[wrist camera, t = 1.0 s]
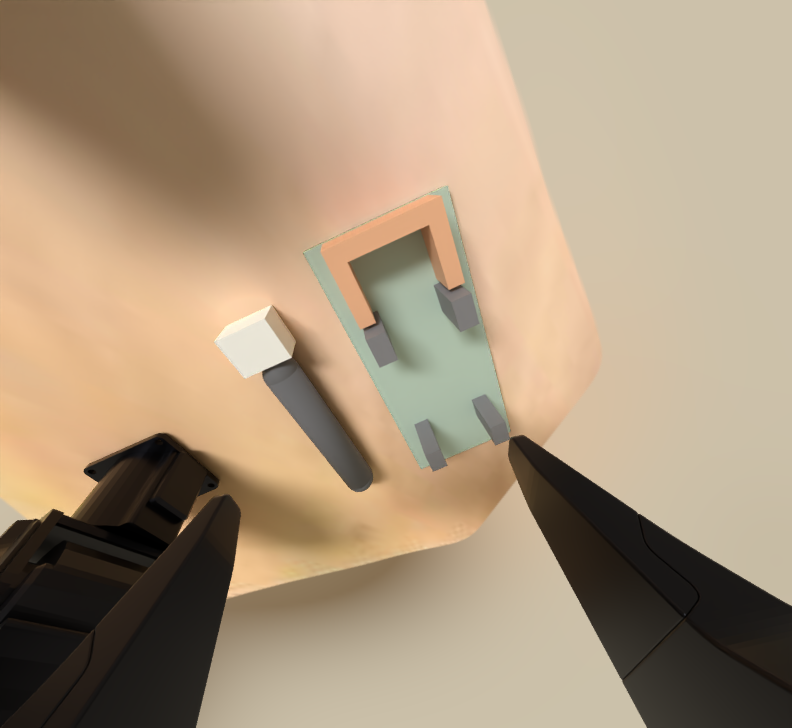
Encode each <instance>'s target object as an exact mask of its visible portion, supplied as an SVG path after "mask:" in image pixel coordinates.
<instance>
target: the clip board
mask: <svg viewBox="0 0 792 728" xmlns="http://www.w3.org/2000/svg"><path fill="white" fill-rule="evenodd" d="M303 254H304V256H305V257H306V259H307V261H308V263H309V265H310V267H311V268H312V270H313V272H314V274H315V276H316V278H317V279H318V281H319V283H320V285H321V287H322V289H323V290H324V292H325V294H326V296H327V298H328V300H329V301H330V303H331V305H332V307H333V309H334V311H335V312H336V314H337V316H338V318H339V320H340V322H341V323H342V325H343V327H344V329H345V331H346V333H347V334H348V336H349V338H350V340H351V342H352V344H353V345H354V347H355V349H356V351H357V353H358V354H359V356H360V358H361V360H362V362H363V364H364V365H365V367H366V369H367V371H368V373H369V375H370V376H371V378H372V380H373V382H374V384H375V386H376V387H377V389H378V391H379V393H380V395H381V397H382V398H383V400H384V402H385V404H386V406H387V408H388V409H389V411H390V413H391V415H392V417H393V419H394V420H395V422H396V424H397V426H398V428H399V430H400V431H401V433H402V435H403V437H404V439H405V441H406V442H407V444H408V446H409V448H410V450H411V452H412V453H413V455H414V457H415V459H416V461H417V463H418V464H419V466H420V468H421V469H423V468H425V467H428V466H430V467H431V469H432V470H433V472H434V471H436V470H438V469H441V468H443V467H445V466H447V463H446V461H445V459H447V458H449V457H451V456H454V455H456V454H458V453H461V452H463V451H465V450H468V449H470V448H473V447H475V446H477V445H480V444H482V443H484V442H487V441H489V440H491V439H492V441H493V442H494V444H495V445H498V444H500V443H502V442H505V441H507V440H509V439H510V437H509V433H508V432H510V431H511V430H510V427H509V423H508V419H507V415H506V411H505V407H504V403H503V399H502V395H501V392H500V388H499V384H498V380H497V376H496V372H495V368H494V364H493V360H492V356H491V353H490V349H489V345H488V341H487V337H486V333H485V329H484V325H483V321H482V317H481V314H480V310H479V306H478V302H477V298H476V294H475V290H474V286H473V282H472V279H471V275H470V271H469V267H468V263H467V259H466V255H465V251H464V247H463V243H462V240H461V236H460V232H459V228H458V224H457V220H456V216H455V212H454V208H453V204H452V201H451V197H450V193H449V189H448V186H443V187H441V188H439V189H437V190H435V191H433V192H430V193H428V194H426V195H424V196H422V197H420V198H418V199H415V200H413V201H411V202H409V203H407V204H405V205H403V206H400V207H398V208H396V209H394V210H392V211H390V212H388V213H385V214H383V215H381V216H379V217H377V218H375V219H373V220H370V221H368V222H366V223H364V224H362V225H360V226H358V227H355V228H353V229H351V230H349V231H347V232H345V233H343V234H340V235H338V236H336V237H334V238H332V239H330V240H328V241H325V242H323V243H321V244H319V245H317V246H315V247H313V248H310V249H308V250H306V251H304V252H303Z"/></svg>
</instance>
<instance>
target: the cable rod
mask: <svg viewBox="0 0 792 728" xmlns="http://www.w3.org/2000/svg"><path fill="white" fill-rule="evenodd" d="M295 342H296V340H295V339H294V337H293V336H292V334H291V333H290V331H289V330H288V328H287V327H286V325H285V324H284V322H283V321H282V319H281V318H280V316H279V315H278V313H277V312H276V310H275V309H274V307H273V306H272V305H270V306H268V307H266V308H264V309H262V310H260V311H257V312H255V313H253V314H251V315H249V316H246V317H244V318H242V319H240V320H238V321H236V322H233V323H231V324H229V325H227V326H226V327H225V328H224V330H223V331H222V332H221V333H220V335H219V336H218V337H217V338H216V340H215V341H214V343H215V344H216V345H217V346H218V347H219V349H220V350H221V351H222V352H223V353H224V355H225V356H226V357H227V358H228V359H229V361H230V362H231V363H232V364H233V365H234V366H235V368H236V369H237V370H238V371H239V372H240V374H241V375H242V376H243V377H244V378H245V379H246V378H248V377H250V376H252V375H254V374H257V373H259V372H261V371H263V372H262V374H263V379H264V381H265V383H266V384H267V386H268V387H269V388H270V389H271V391H272V392H273V393H274V394H275V396H276V397H277V398H278V399H279V401H280V402H281V403H282V404H283V406H284V407H285V408H286V409H287V411H288V412H289V413H290V414H291V416H292V417H293V418H294V419H295V421H296V422H297V423H298V424H299V426H300V427H301V428H302V429H303V431H304V432H305V433H306V434H307V436H308V437H309V438H310V439H311V441H312V442H313V443H314V444H315V446H316V447H317V448H318V449H319V451H320V452H321V453H322V454H323V456H324V457H325V458H326V459H327V461H328V462H329V463H330V464H331V466H332V467H333V468H334V469H335V471H336V472H337V473H338V474H339V476H340V477H341V478H342V479H343V481H344V482H345V483H346V484H347V486H348V487H349V488H350V489H351V490H353V491H355V492H362V491H365V490H366V489H368V488H369V487H370V485H371V483H372V481H373V473H372V470H371V468H370V467H369V465H368V464H367V462H366V461H365V460H364V458H363V457H362V455H361V454H360V452H359V451H358V449H357V448H356V446H355V445H354V444H353V442H352V441H351V439H350V438H349V436H348V435H347V433H346V432H345V431H344V429H343V428H342V426H341V425H340V423H339V422H338V420H337V419H336V418H335V416H334V415H333V413H332V412H331V410H330V409H329V407H328V406H327V405H326V403H325V402H324V400H323V399H322V397H321V396H320V394H319V393H318V392H317V390H316V389H315V387H314V386H313V384H312V383H311V381H310V380H309V379H308V377H307V376H306V374H305V373H304V371H303V370H302V368H301V367H300V365H299V364H298V363H297V362H296V360H294V359H293V358H292V354H293V350H294V346H295Z"/></svg>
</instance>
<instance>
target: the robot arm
mask: <svg viewBox="0 0 792 728" xmlns="http://www.w3.org/2000/svg"><path fill="white" fill-rule="evenodd" d="M160 440H161V441H160ZM508 457H509V461H510V463H511V466H512V468H513V471H514V473H515V475H516V478H517V480H518V483H519V485H520V488H521V490H522V493H523V495H524V497H525V500H526V502H527V504H528V507H529V509H530V511H531V513H532V515H533V516H534V518H535V520H536V522H537V524H538V526H539V528H540V529H541V531H542V533H543V535H544V537H545V539H546V541H547V542H548V544H549V546H550V548H551V550H552V552H553V553H554V555H555V557H556V559H557V561H558V563H559V564H560V566H561V568H562V570H563V572H564V574H565V576H566V578H567V580H568V581H569V583H570V585H571V587H572V589H573V591H574V592H575V594H576V596H577V598H578V600H579V602H580V603H581V606H582V607H583V609H584V611H585V613H586V615H587V617H588V618H589V620H590V622H591V624H592V626H593V628H594V630H595V631H596V633H597V635H598V637H599V639H600V641H601V643H602V645H603V646H604V648H605V650H606V652H607V654H608V656H609V657H610V659H611V661H612V663H613V665H614V667H615V669H616V670H617V672H618V674H619V676H620V678H621V679H622V681H623V684H624V686H625V688H626V689H627V691H628V693H629V695H630V697H631V699H632V700H633V702H634V704H635V706H636V708H637V710H638V712H639V713H640V715H641V717H642V719H643V721H644V723H645V724H646V726H647V728H792V606H791V605H789V604H787V603H785V602H783V601H782V600H780V599H778V598H776V597H774V596H773V595H771V594H769V593H768V592H766V591H764V590H762V589H761V588H759V587H757V586H756V585H754V584H752V583H751V582H749V581H747V580H746V579H744V578H742V577H740V576H739V575H737V574H735V573H733V572H732V571H730V570H728V569H727V568H725V567H723V566H722V565H720V564H718V563H717V562H715V561H713V560H712V559H710V558H708V557H706V556H705V555H703V554H701V553H700V552H698V551H697V550H695V549H693V548H692V547H690V546H688V545H687V544H685V543H683V542H682V541H680V540H679V539H677V538H675V537H674V536H672V535H671V534H669V533H668V532H666V531H665V530H663V529H662V528H660V527H659V526H657V525H656V524H654V523H653V522H651V521H650V520H648V519H646V518H645V517H644V516H642V515H641V514H638V513H637V512H636V511H635V510H633V509H632V508H630V507H629V506H627V505H626V504H624V503H623V502H621V501H620V500H619V499H617V498H616V497H614V496H613V495H611V494H610V493H608V492H607V491H605V490H604V489H602V488H601V487H599V486H598V485H596V484H595V483H593V482H592V481H591V480H589V479H588V478H586V477H584V476H583V475H582V474H580V473H579V472H577V471H576V470H574V469H573V468H571V467H570V466H568V465H567V464H566V463H564V462H563V461H561V460H560V459H558V458H557V457H555V456H554V455H552V454H551V453H549V452H548V451H546V450H545V449H543V448H542V447H540V446H539V445H538V444H536V443H535V442H533V441H532V440H530V439H529V438H527V437H526V436H524V435H518V436H513V437H511V438H510V440H509V451H508ZM84 473H85V474H86V475H88V476H89V477H91V478H92V479H94V480H95V481H97V482H98V484H97V485H96V487H95V488H94V489H93V490H92V492H91V493H90V494H89V495H88V497H87V498H86V499H85V500H84V502H83V503H82V504H81V505H80V507H79V508H78V509H77V510H76V511H75V513H74V514H73V515H72V516H71V517H69V516H66V515H63V513H64V512H61V511H58V510H55V509H52V510H51V511H50V512H48V513H47V514H46V515H45V516H44V517H42V518H41V519H40V520H38V519H34V520H17V521H16V522H15V523H13V524H12V525H11V526H10V527H9V528H8V529H7V530H6V531H5V532H4V533H3V534H2V535H1V536H0V728H196V725H197V721H198V716H199V712H200V708H201V704H202V699H203V695H204V691H205V687H206V683H207V678H208V674H209V670H210V666H211V661H212V657H213V653H214V649H215V644H216V640H217V636H218V632H219V628H220V623H221V619H222V615H223V611H224V607H225V602H226V598H227V594H228V590H229V585H230V581H231V577H232V572H233V568H234V561H235V554H236V547H237V539H238V532H239V524H240V517H241V512H240V509H239V507H238V505H237V504H236V503H235V501H234V500H233V499H232V497H231V496H230V495H229V494H223V495H218V496H215V497H213V498H212V499H211V500H210V501H209V502H208V503H207V504H206V506H205V507H204V508H203V509H202V510H201V511H200V512H199V513H198V514H197V515H196V517H195V518H194V519H193V520H192V521H191V522H190V523H189V524H188V525H187V527H186V528H185V529H184V530H183V531H182V532H181V533H180V534H179V535H178V533H179V531H180V529H181V527H182V525H183V522H184V520H186V519H187V518H188V516H189V514H190V511H191V509H192V507H193V505H194V502H195V500H196V498H197V497H198V496H200V495H202V494H204V493H207V492H209V491H211V490H214V489H216V488H217V487H218V485H219V479H218V478H216V477H215V476H214V475H213V474H212V473H211V472H209V471H208V470H207V469H206V468H205V467H203V466H202V465H201V464H200V463H199V462H198V461H196V460H195V459H194V458H193V457H192V456H191V455H189V454H188V453H187V452H186V451H185V450H184V449H182V448H181V447H180V446H179V445H178V444H177V443H175V442H174V441H173V440H172V439H171V438H170V437H168V436H167V435H165V434H162V433H158V434H155V435H153V436H150V437H148V438H146V439H144V440H142V441H139V442H137V443H135V444H133V445H130V446H128V447H126V448H124V449H121V450H119V451H117V452H115V453H112V454H110V455H108V456H106V457H104V458H101V459H99V460H97V461H95V462H92V463H90V464H89V465H88V466H87V467H86V468H85V469H84Z"/></svg>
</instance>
